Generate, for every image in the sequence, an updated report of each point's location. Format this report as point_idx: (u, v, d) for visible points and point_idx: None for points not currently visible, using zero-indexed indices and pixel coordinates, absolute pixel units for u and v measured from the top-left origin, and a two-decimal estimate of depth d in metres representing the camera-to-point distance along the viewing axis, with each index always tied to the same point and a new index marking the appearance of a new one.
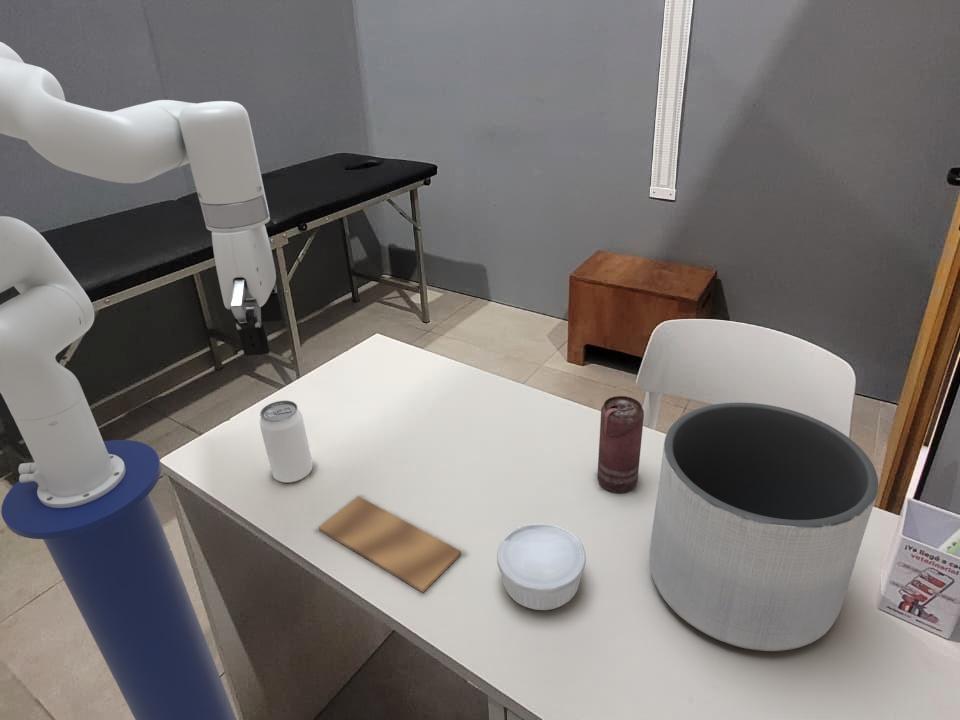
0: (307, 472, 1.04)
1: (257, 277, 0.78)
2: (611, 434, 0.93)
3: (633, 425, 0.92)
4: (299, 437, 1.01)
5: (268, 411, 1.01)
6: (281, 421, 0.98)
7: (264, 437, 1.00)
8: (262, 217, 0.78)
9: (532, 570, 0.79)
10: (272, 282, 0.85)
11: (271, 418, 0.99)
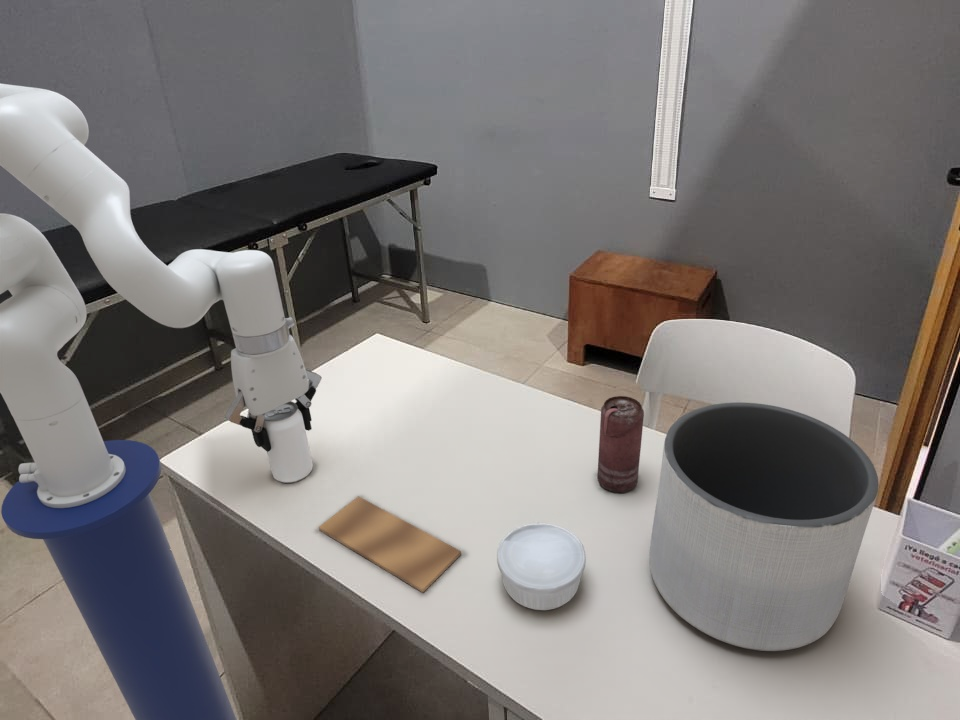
0: (307, 472, 1.04)
1: (250, 394, 0.93)
2: (611, 434, 0.93)
3: (633, 425, 0.92)
4: (299, 437, 1.01)
5: None
6: (281, 421, 0.98)
7: None
8: (264, 351, 0.91)
9: (532, 570, 0.79)
10: (290, 396, 0.98)
11: (271, 418, 0.99)
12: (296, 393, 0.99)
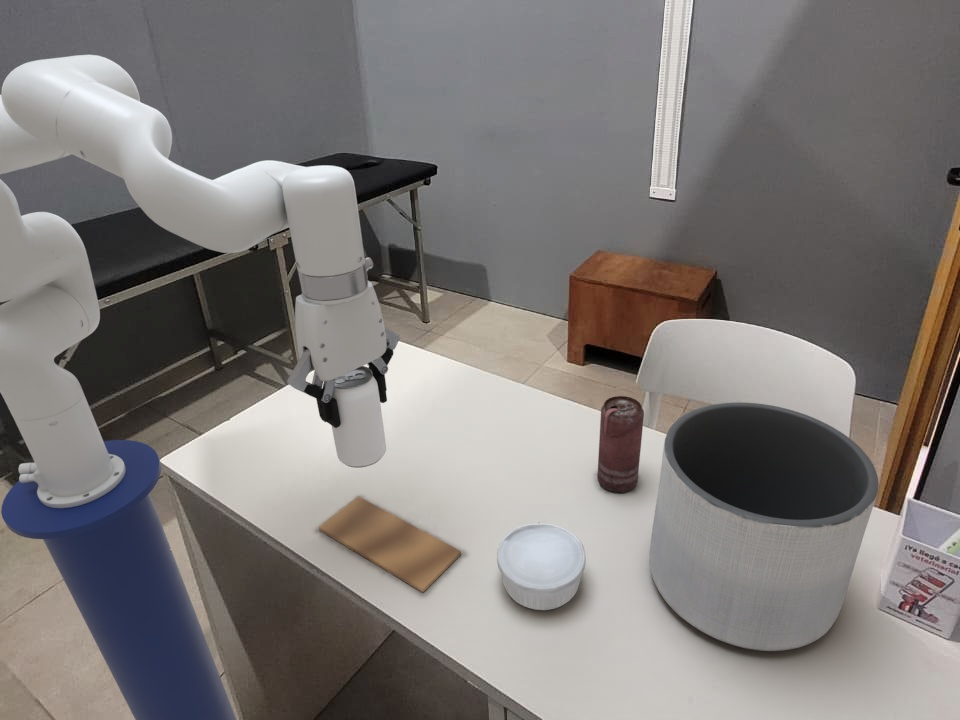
0: (381, 454, 0.84)
1: (320, 353, 0.73)
2: (611, 434, 0.93)
3: (633, 425, 0.92)
4: (374, 410, 0.81)
5: None
6: (355, 389, 0.78)
7: None
8: (340, 296, 0.71)
9: (532, 570, 0.79)
10: (365, 358, 0.78)
11: (342, 386, 0.79)
12: (373, 354, 0.79)
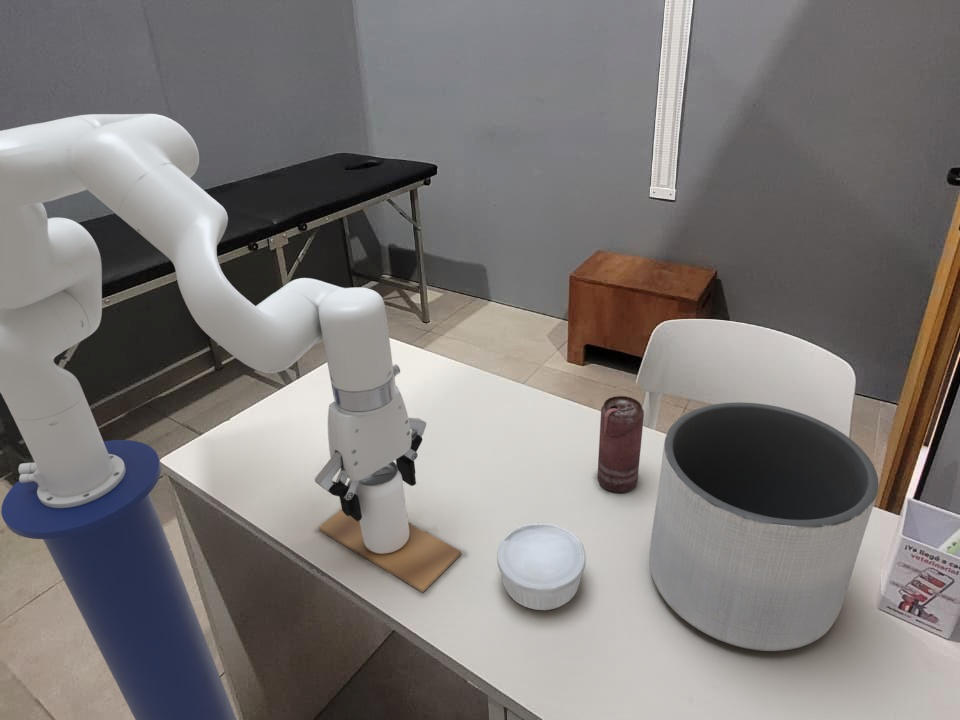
0: (405, 541, 0.89)
1: (351, 458, 0.78)
2: (611, 434, 0.93)
3: (633, 425, 0.92)
4: (399, 502, 0.86)
5: None
6: (381, 485, 0.83)
7: None
8: (371, 407, 0.76)
9: (532, 570, 0.79)
10: (392, 456, 0.83)
11: (369, 482, 0.84)
12: (399, 452, 0.84)
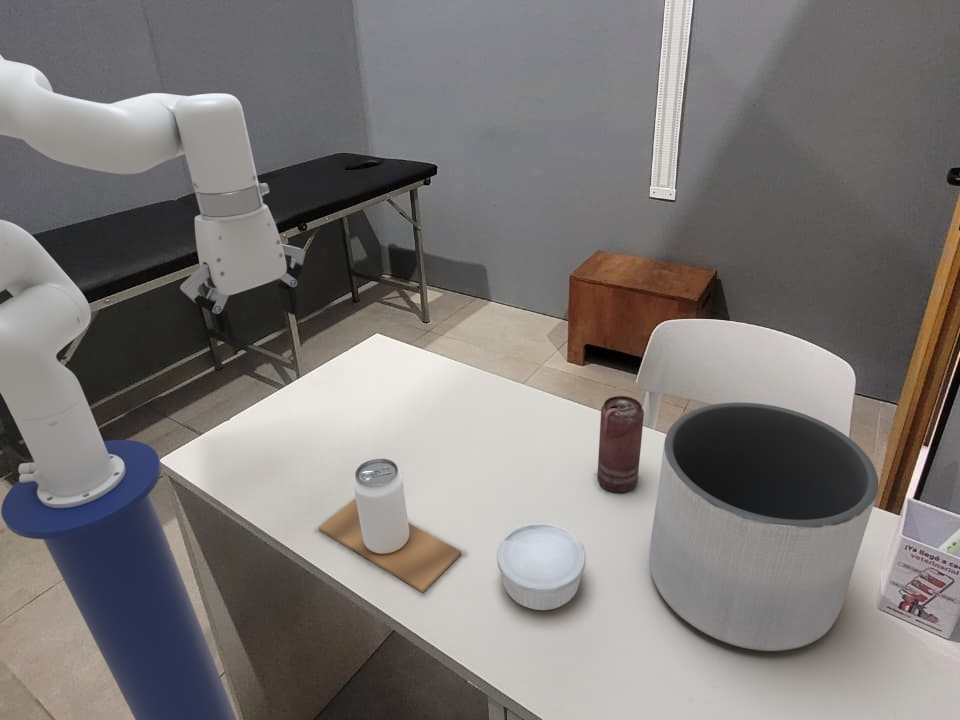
0: (405, 541, 0.89)
1: (217, 267, 0.81)
2: (611, 434, 0.93)
3: (633, 425, 0.92)
4: (399, 502, 0.86)
5: (363, 472, 0.86)
6: (382, 485, 0.83)
7: (359, 503, 0.85)
8: (232, 212, 0.78)
9: (532, 570, 0.79)
10: (264, 276, 0.85)
11: (369, 482, 0.84)
12: (272, 274, 0.86)
